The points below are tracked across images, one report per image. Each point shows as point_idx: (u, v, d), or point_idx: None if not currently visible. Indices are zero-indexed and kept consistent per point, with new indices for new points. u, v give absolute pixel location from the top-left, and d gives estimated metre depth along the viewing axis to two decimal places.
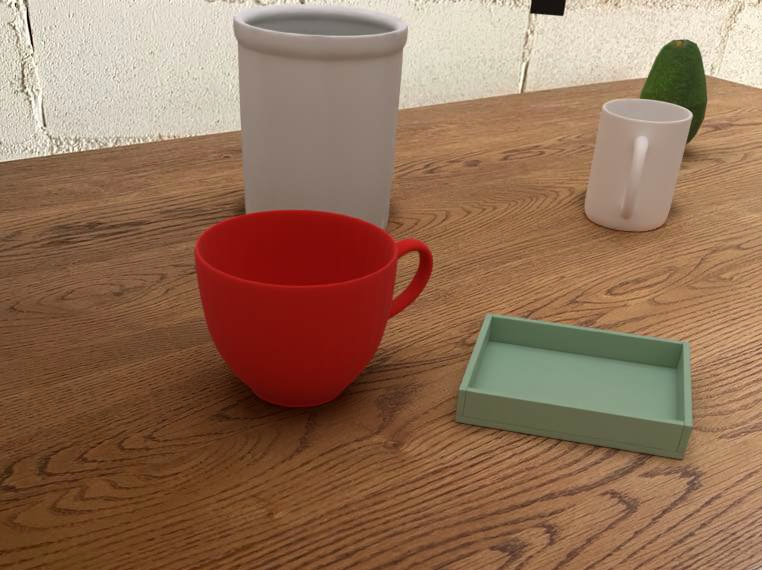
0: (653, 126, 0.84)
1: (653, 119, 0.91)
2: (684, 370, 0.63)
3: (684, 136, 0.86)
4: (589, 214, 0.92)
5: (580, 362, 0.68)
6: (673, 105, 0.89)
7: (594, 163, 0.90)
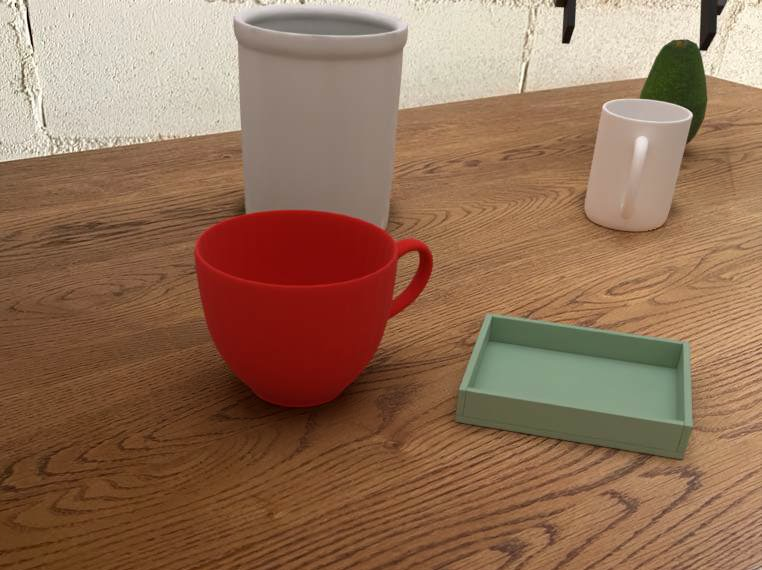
0: (653, 126, 0.84)
1: (653, 119, 0.91)
2: (684, 370, 0.63)
3: (684, 136, 0.86)
4: (589, 214, 0.92)
5: (580, 362, 0.68)
6: (673, 105, 0.89)
7: (594, 163, 0.90)
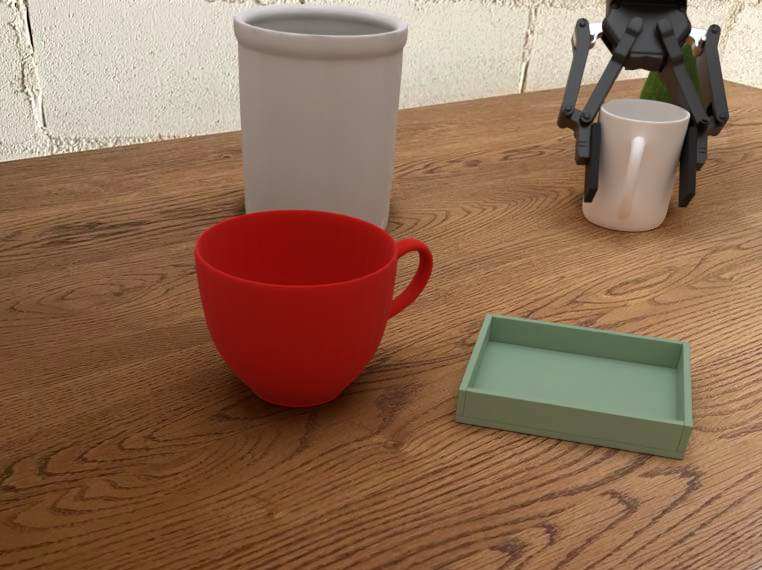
0: (650, 126, 0.84)
1: (651, 120, 0.91)
2: (684, 370, 0.63)
3: (681, 136, 0.86)
4: (586, 214, 0.92)
5: (580, 362, 0.68)
6: (671, 105, 0.89)
7: None
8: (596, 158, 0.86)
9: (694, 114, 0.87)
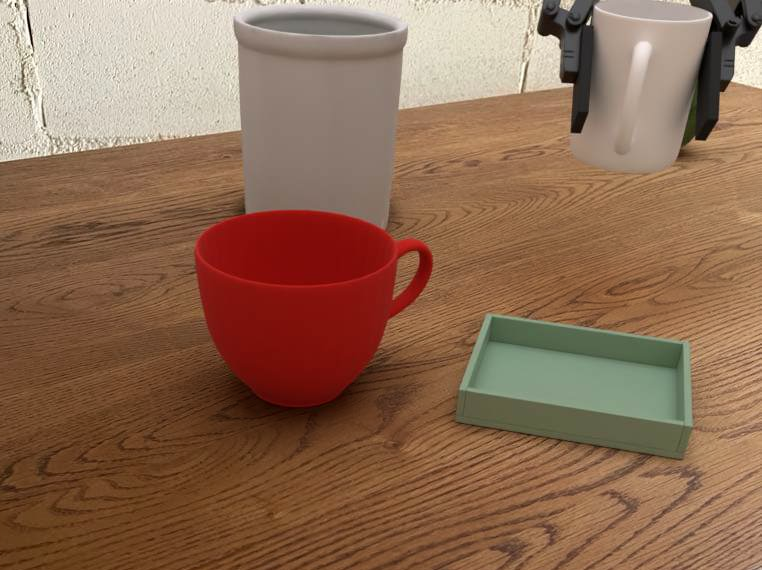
0: (658, 27, 0.63)
1: None
2: (684, 370, 0.63)
3: (700, 44, 0.64)
4: (575, 152, 0.71)
5: (580, 362, 0.68)
6: (687, 6, 0.67)
7: None
8: (587, 72, 0.65)
9: (718, 15, 0.65)
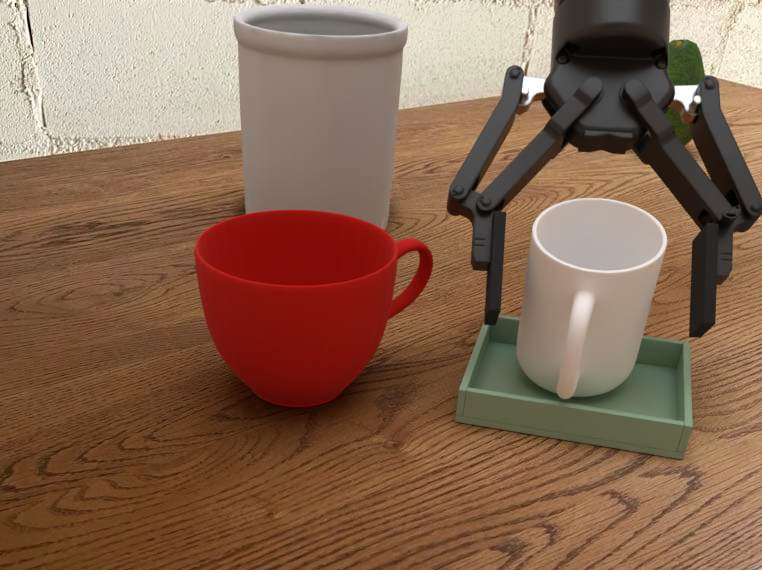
0: (600, 278, 0.55)
1: (615, 227, 0.61)
2: (684, 370, 0.63)
3: (652, 280, 0.57)
4: (520, 365, 0.64)
5: None
6: (643, 213, 0.59)
7: (524, 302, 0.61)
8: (499, 264, 0.58)
9: (711, 207, 0.58)
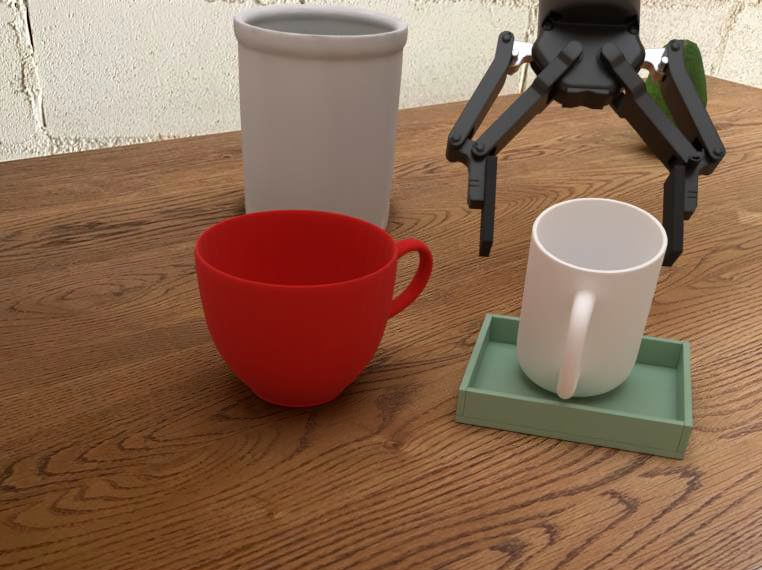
0: (601, 278, 0.55)
1: (615, 227, 0.61)
2: (684, 370, 0.63)
3: (652, 280, 0.57)
4: (520, 365, 0.64)
5: None
6: (643, 213, 0.59)
7: (524, 302, 0.61)
8: (491, 202, 0.67)
9: (679, 152, 0.68)
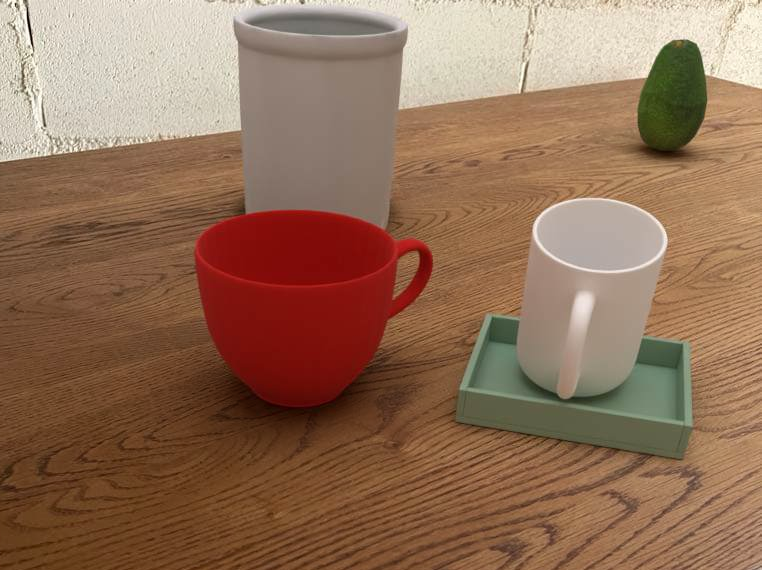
0: (601, 278, 0.55)
1: (615, 227, 0.61)
2: (684, 370, 0.63)
3: (652, 280, 0.57)
4: (520, 365, 0.64)
5: None
6: (643, 213, 0.59)
7: (524, 302, 0.61)
8: None
9: None
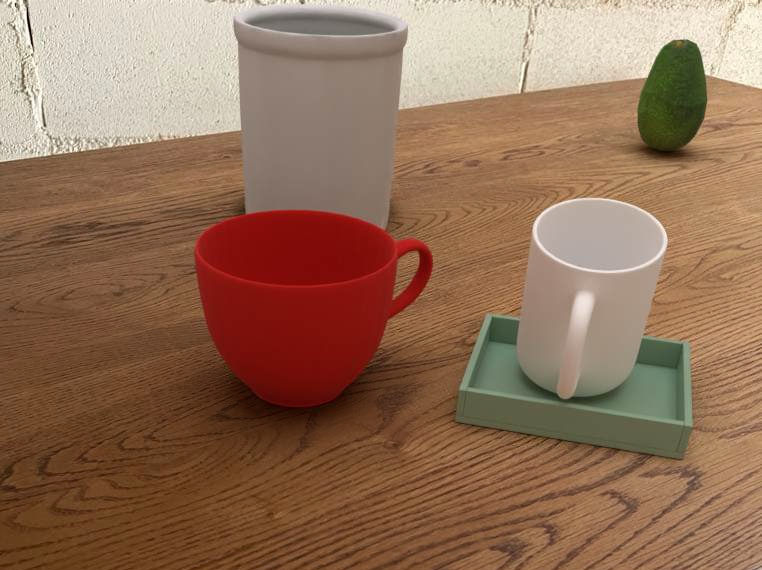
0: (601, 278, 0.55)
1: (615, 227, 0.61)
2: (684, 370, 0.63)
3: (652, 280, 0.57)
4: (520, 365, 0.64)
5: None
6: (643, 213, 0.59)
7: (524, 302, 0.61)
8: None
9: None
